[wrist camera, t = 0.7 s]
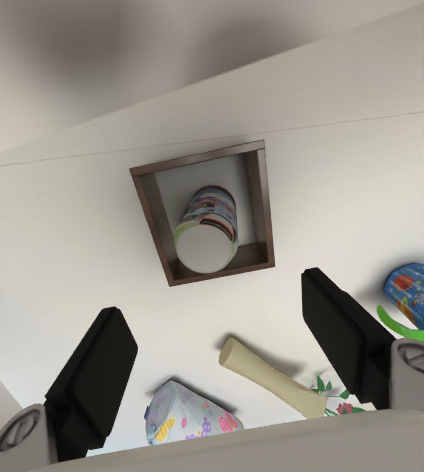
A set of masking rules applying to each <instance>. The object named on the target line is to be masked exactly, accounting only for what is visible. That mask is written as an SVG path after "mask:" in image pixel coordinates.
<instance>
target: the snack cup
mask: <svg viewBox="0 0 424 472" xmlns="http://www.w3.org/2000/svg"><path fill="white" fill-rule="evenodd" d="M384 292H385V294H386V295H387V297H388V298H389V299H390V300H391V301H392V303H393V304H394V305H395V306H396V307H397V308H398V309H399V310H400V311H401V312H402V313H403V314H404V315H405V316H406V317H407V318H408V319H409V320H410V321H411V322H412V323H413V324H414V325H415V326H416V327H417V328H418V329H419V330H412V329H409V328H407V327H406V326H404V325H402V324H400V323H398V322H397V321H395V320H393V319H392V318H391V317H390V316H389V315H388V314H387V312H386V311H385V310H384V309H383V308H382V307H381V306H380V305H378V306H377V312H378V315H379V317H380V319H381V321H382V322H383V323H384V324H385V325H386V326H388V327H389V328H390V329H392V330H393V331H395V332H396V333H398V334H400V335H402V336H403V337H405V338H411V339H416V340H420V341H423V342H424V265H422V264H417V263H414V264H411V265H407V266H404V267H402V268H400V269H398V270H396V271H394V272H392V275H391V276H390V277H389V279H388V280H387V282H386V285H385V288H384Z"/></svg>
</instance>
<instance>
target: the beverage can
mask: <svg viewBox="0 0 424 472" xmlns="http://www.w3.org/2000/svg"><path fill="white" fill-rule="evenodd" d="M174 245H175V249H176V251H177V255H178V257H179V259H180V260H181V262H182V263H183V264H184V265H185V266H186V267H188V268H189V269H191V270H193V271H196V272H199V273H213V272H216V271H219V270H221V269H222V268H224V267H225V266H226V265H227V264H228V263H229V262H230V261H231V259H232V258H233V257H234V255H235V254H236V251H237V248H238V231H237V217H236V204H235V200H234V198H233V196H232V195H231V194H230V193H229V192H228V191H227V190H225V189H224V188H221V187H218V186H207V187H204V188H202V189H200V190H199V191H198V192H197V193H196V194H195V195H194V197H193V199H192V200H191V202H190V204H189V206H188V208H187V209H186V211H185V213H184V215H183V217H182V219H181V220H180V222H179V224H178V226H177V228H176V230H175V233H174Z"/></svg>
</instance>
